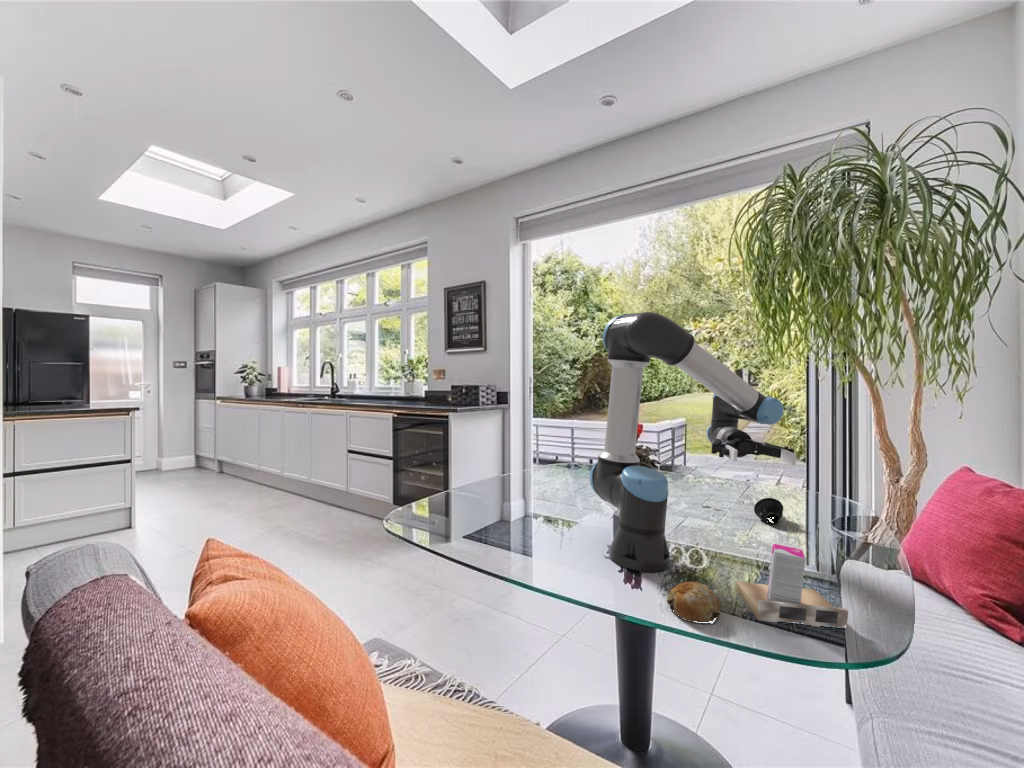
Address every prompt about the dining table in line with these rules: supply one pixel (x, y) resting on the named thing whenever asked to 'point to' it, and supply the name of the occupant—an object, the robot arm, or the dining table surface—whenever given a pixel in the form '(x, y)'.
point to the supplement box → (786, 574)
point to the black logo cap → (769, 509)
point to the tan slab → (791, 607)
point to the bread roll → (694, 602)
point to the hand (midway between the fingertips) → (764, 457)
